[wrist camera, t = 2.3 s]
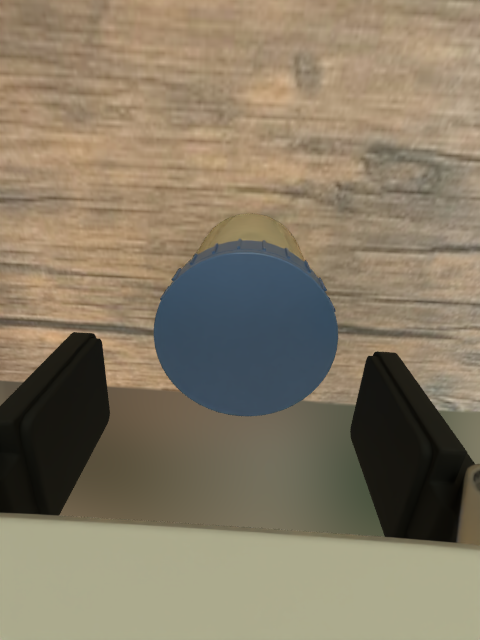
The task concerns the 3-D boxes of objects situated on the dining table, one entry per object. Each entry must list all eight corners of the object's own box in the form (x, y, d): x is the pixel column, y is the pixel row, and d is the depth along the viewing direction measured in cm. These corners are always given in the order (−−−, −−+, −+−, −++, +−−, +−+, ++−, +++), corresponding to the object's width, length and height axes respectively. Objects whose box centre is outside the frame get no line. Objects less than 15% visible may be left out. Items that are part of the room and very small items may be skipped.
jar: (308, 216, 22) (343, 261, 13) (295, 316, 24) (316, 410, 15) (198, 209, 22) (159, 248, 13) (197, 310, 24) (165, 398, 16)
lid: (343, 244, 14) (356, 257, 12) (317, 396, 17) (324, 423, 15) (160, 232, 14) (147, 243, 12) (165, 385, 17) (155, 411, 15)
